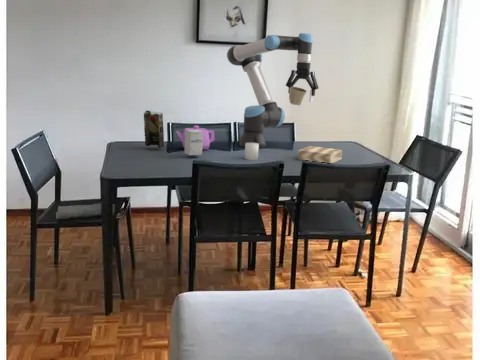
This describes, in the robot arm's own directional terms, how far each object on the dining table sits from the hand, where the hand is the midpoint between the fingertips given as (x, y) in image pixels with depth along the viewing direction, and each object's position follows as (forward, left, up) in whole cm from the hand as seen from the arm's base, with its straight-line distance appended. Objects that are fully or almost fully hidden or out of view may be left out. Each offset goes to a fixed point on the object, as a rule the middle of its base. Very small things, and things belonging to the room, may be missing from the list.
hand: (300, 100), depth 321 cm
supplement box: (-29, -56, -29) cm, 69 cm away
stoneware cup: (-2, -41, -29) cm, 50 cm away
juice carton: (-57, -58, -29) cm, 86 cm away
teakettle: (-42, -41, -29) cm, 65 cm away
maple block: (+22, -12, -29) cm, 38 cm away
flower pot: (-4, 0, -2) cm, 4 cm away
